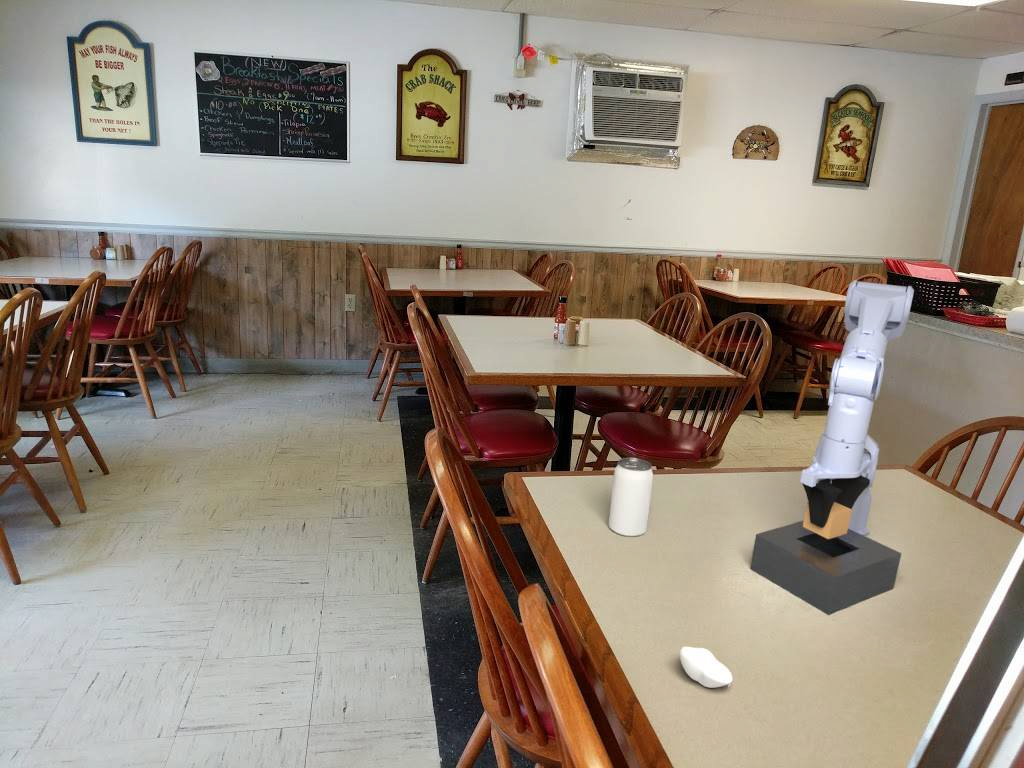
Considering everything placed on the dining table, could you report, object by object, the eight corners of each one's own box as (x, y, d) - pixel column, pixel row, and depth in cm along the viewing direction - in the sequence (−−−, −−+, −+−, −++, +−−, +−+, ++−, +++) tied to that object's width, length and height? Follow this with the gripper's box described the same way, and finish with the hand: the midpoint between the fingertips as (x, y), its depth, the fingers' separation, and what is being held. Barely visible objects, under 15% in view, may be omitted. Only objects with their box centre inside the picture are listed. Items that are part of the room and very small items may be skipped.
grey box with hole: (814, 548, 122) (820, 515, 120) (893, 588, 111) (901, 553, 109) (750, 568, 114) (756, 534, 112) (828, 615, 102) (836, 577, 101)
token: (821, 521, 114) (825, 497, 113) (846, 533, 110) (851, 509, 109) (802, 526, 111) (807, 502, 110) (828, 539, 108) (833, 514, 107)
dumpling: (666, 675, 87) (670, 647, 86) (689, 658, 91) (693, 630, 90) (718, 706, 83) (723, 676, 81) (740, 686, 86) (745, 658, 85)
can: (645, 540, 121) (654, 473, 118) (606, 534, 122) (614, 468, 119) (646, 523, 127) (654, 459, 124) (609, 518, 128) (616, 454, 125)
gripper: (850, 423, 114) (834, 503, 117) (789, 434, 106) (774, 519, 110) (892, 438, 108) (874, 521, 111) (832, 450, 100) (814, 539, 104)
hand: (827, 521), depth 110 cm, fingers closed on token, 4 cm apart
